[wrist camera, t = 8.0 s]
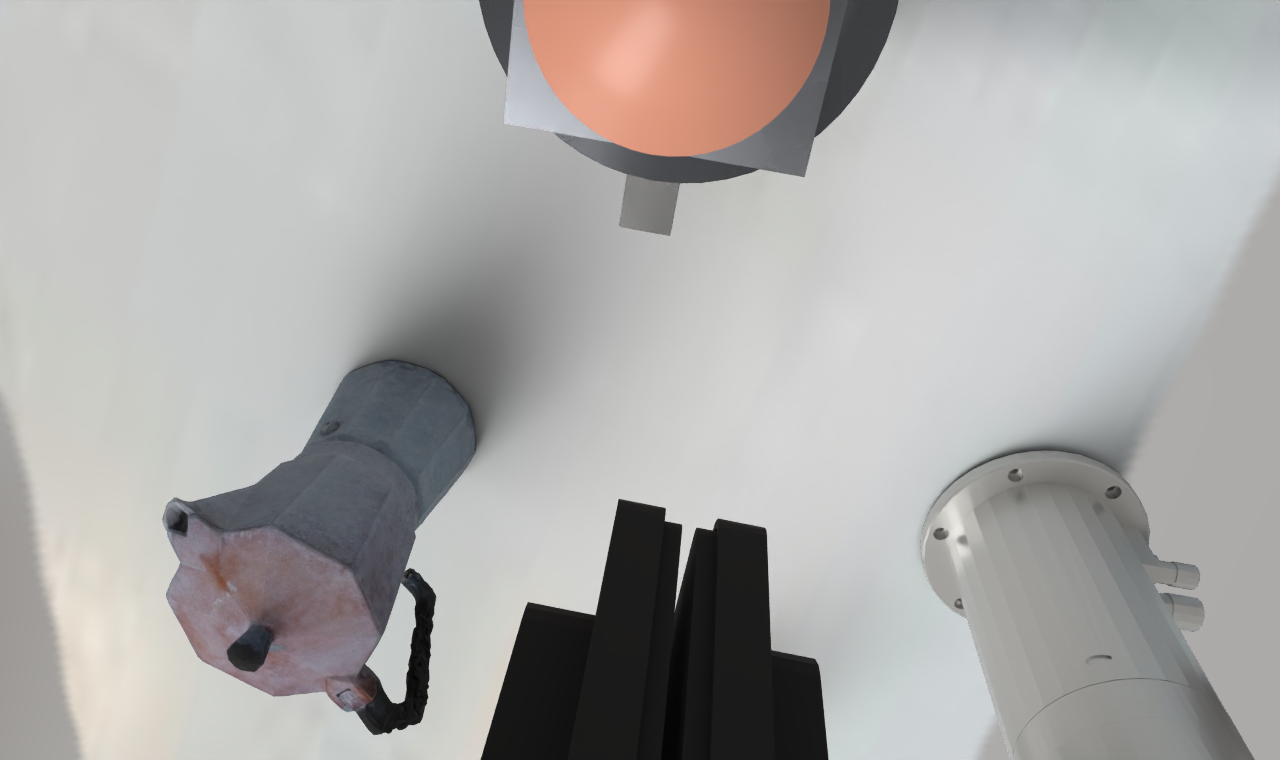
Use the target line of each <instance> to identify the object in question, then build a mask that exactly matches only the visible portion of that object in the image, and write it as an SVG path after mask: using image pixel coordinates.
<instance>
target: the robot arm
mask: <svg viewBox="0 0 1280 760" xmlns="http://www.w3.org/2000/svg"><path fill="white" fill-rule="evenodd" d="M665 512H666V509H665V508H662V507H657V506H652V505H647V504H642V503H637V502H632V501H627V500H622V499H619V501H618V506H617V511H616V516H615V521H614V526H613V531H612V536H611V541H610V546H609V551H608V556H607V561H606V566H605V571H604V576H603V581H602V586H601V591H600V596H599V601H598V606H597V611H596V616H595V615H590V614H585V613H580V612H575V611H570V610H565V609H560V608H555V607H550V606H545V605H540V604H535V603H530V602H528V603H527V605H526V608H525V611H524V614H523V617H522V621H521V624H520V627H519V631H518V634H517V638H516V641H515V644H514V648H513V651H512V655H511V658H510V662H509V665H508V668H507V672H506V675H505V679H504V682H503V686H502V689H501V692H500V696H499V699H498V703H497V706H496V709H495V713H494V716H493V720H492V723H491V727H490V730H489V733H488V737H487V740H486V744H485V747H484V750H483V754H482V757H481V760H828V750H827V740H826V729H825V719H824V708H823V698H822V688H821V677H820V671H819V666H818V663H817V662H816V660H815V659H813V658H808V657H803V656H797V655H792V654H787V653H782V652H777V651H772V650H771V636H770V609H769V581H768V553H767V533H766V529H765V528H763V527H758V526H753V525H748V524H743V523H738V522H733V521H728V520H723V519H717V520H716V523H715V525H714V529H713V531H711V530H706V529H701V528H696V530H695V533H694V537H693V541H692V545H691V549H690V553H689V557H688V561H687V565H686V569H685V573H684V577H683V581H682V585H681V589H680V593H679V597H678V601H677V605H676V609H675V600H676V589H677V578H678V567H679V556H680V545H681V534H682V525H681V524H676V523H671V522H666V521H665ZM1149 534H1150V530H1149V525H1148V520H1147V514H1146V512H1145V510H1144V508H1143V506H1142V504H1141V501H1140V499H1139V498H1138V496H1137V495H1136V494H1135V492H1134V490H1133V489H1132V488H1131V486H1130V485H1129V483H1127V482H1126V481H1125V480H1124V479H1123V478H1122V477H1121V476H1120V475H1119V474H1118V473H1117V472H1116V471H1114V470H1113V469H1111V468H1109V467H1108V466H1106V465H1104V464H1103V463H1101V462H1099V461H1096V460H1094V459H1091V458H1088V457H1085V456H1083V455H1079V454H1074V453H1068V452H1063V451H1030V452H1023V453H1016V454H1012V455H1008V456H1005V457H1002V458H998V459H995V460H992V461H990V462H988V463H985V464H983V465H981V466H979V467H977V468H975V469H973V470H971V471H970V472H968V473H967V474H965V475H964V476H962V477H961V478H959V479H958V480H956V481H955V482H954V483H953V484H952V485H951V486H950V487H949V488H948V489H947V490H946V491H945V492H944V493H943V494H942V495H941V496H940V497H939V499H938V500H937V501H936V503H935V504H934V506H933V507H932V508H931V510H930V512H929V514H928V516H927V519H926V521H925V523H924V525H923V530H922V535H921V540H920V548H921V560H922V563H923V567H924V571H925V575H926V577H927V579H928V582H929V584H930V586H931V588H932V590H933V591H934V592H935V594H936V595H937V596H938V597H939V599H940V600H941V601H942V602H943V603H944V604H945V605H946V606H947V607H949V608H950V609H951V610H952V611H954V612H955V613H957V614H959V615H960V616H962V617H964V618H966V619H967V620H968V624H969V627H970V630H971V633H972V637H973V640H974V643H975V647H976V650H977V653H978V656H979V660H980V663H981V666H982V670H983V673H984V676H985V680H986V683H987V686H988V689H989V693H990V696H991V699H992V703H993V706H994V709H995V712H996V716H997V719H998V722H999V726H1000V729H1001V732H1002V735H1003V739H1004V742H1005V745H1006V749H1007V752H1008V755H1009V758H1010V760H1255V759H1254V757H1253V756H1252V754H1251V752H1250V751H1249V749H1248V747H1247V746H1246V744H1245V742H1244V741H1243V739H1242V737H1241V735H1240V733H1239V732H1238V730H1237V728H1236V726H1235V725H1234V723H1233V721H1232V719H1231V718H1230V716H1229V715H1228V713H1227V712H1226V710H1225V709H1224V706H1223V705H1222V703H1221V701H1220V699H1219V698H1218V696H1217V694H1216V692H1215V691H1214V689H1213V687H1212V685H1211V684H1210V682H1209V681H1208V678H1207V677H1206V675H1205V673H1204V671H1203V670H1202V668H1201V666H1200V665H1199V663H1198V661H1197V659H1196V657H1195V656H1194V654H1193V652H1192V650H1191V649H1190V647H1189V645H1188V643H1187V642H1186V640H1185V638H1184V636H1183V635H1182V633H1181V631H1180V629H1181V630H1186V631H1191V632H1194V631H1198V630H1199V629H1200V627H1201V626H1202V624H1203V620H1204V608H1203V605H1202V602H1201V601H1199V599H1198V598H1193V597H1187V596H1182V595H1176V594H1170V593H1163V594H1161V593H1158V591H1157V589H1156V587H1155V586H1154V584H1155V583H1162V584H1167V585H1168V586H1172V587H1178V588H1183V589H1189V590H1192V589H1195V588H1196V587H1197V586H1198V584H1199V581H1200V573H1199V570H1198V568H1197V567H1196V566H1195V565H1188V564H1183V563H1178V562H1165V561H1160V560H1159V559H1158V557H1157V556H1156V555H1153V553H1152V551H1151V550H1150V548H1149ZM674 611H675V613H674Z"/></svg>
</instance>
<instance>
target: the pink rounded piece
mask: <svg viewBox="0 0 1280 760" xmlns="http://www.w3.org/2000/svg"><path fill="white" fill-rule="evenodd" d="M523 6H524V17H525V23H526V28H527V33H528V37H529V41H530V44H531V47H532V50H533V53H534V56H535V59H536V61H537V63H538V65H539V67H540V69H541V71H542V73H543V75H544V77H545V79H546V81H547V82H548V84H549V85H550V87H551V88H552V90H553V91H554V93H555V95H556V96H557V97H558V98H559V99H560V101H561V102H562V103H563V104H564V105H565V107H566V108H567V109H568V110H569V111H570V112H571V113H572V114H573V115H574V116H575V117H577V118H578V119H579V120H580V121H581V122H582V123H583V124H585V125H586V126H587V127H589V128H590V129H592V130H593V131H594V132H596V133H597V134H599V135H600V136H602V137H604V138H606V139H608V140H610V141H612V142H613V143H615V144H618V145H621V146H623V147H626V148H628V149H631V150H634V151H638V152H642V153H646V154H651V155H660V156H669V157H671V156H692V155H699V154H706V153H710V152H713V151H717V150H720V149H724V148H726V147H729V146H731V145H733V144H736V143H738V142H740V141H742V140H744V139H746V138H748V137H749V136H751V135H753V134H754V133H756V132H758V131H759V130H761V129H762V128H763V127H764V126H766V125H767V124H768V123H770V122H771V121H772V120H773V119H775V118H776V117H777V116H778V115H779V114H780V113H781V112H782V111H783V110H784V109H785V108H786V107H787V106H788V105H789V103H790V102H791V101H792V100H793V98H794V97H795V96H796V94H797V93H798V92H799V91H800V89H801V88H802V86H803V84H804V83H805V81H806V79H807V78H808V76H809V74H810V73H811V71H812V69H813V66H814V64H815V62H816V60H817V57H818V55H819V53H820V50H821V47H822V43H823V40H824V37H825V34H826V29H827V23H828V18H829V12H830V0H523Z"/></svg>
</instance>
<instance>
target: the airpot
mask: <svg viewBox="0 0 1280 760" xmlns="http://www.w3.org/2000/svg"><path fill="white" fill-rule="evenodd" d="M479 2H480V6H481V11H482V15H483V19H484V23H485V27H486V30H487V32H488V35H489V38H490V41H491V43H492V46H493V49H494V51H495V54H496V56H497V58H498V60H499V62H500V64H501V65H502V67H503V69H504V71H505V73H506V75H507V89H506V100H505V112H504V124H510V125H515V126H521V127H527V128H532V129H538V130H543V131H549V132H553V133H555V134H556V135H557V136H558V137H559V138H560V139H562V140H563V141H564V142H566V143H567V144H569V145H570V146H571V147H573V148H574V149H576V150H577V151H578V152H580V153H581V154H583V155H585V156H587V157H589V158H591V159H593V160H595V161H596V162H598V163H600V164H602V165H604V166H607V167H609V168H612V169H614V170H617V171H620V172H622V173H625V174H627V178H626V185H625V192H624V198H623V205H622V211H621V218H620V224H619V226H621V227H623V228H629V229H634V230H640V231H646V232H651V233H657V234H662V235H668V236H670V234H671V229H672V223H673V218H674V212H675V207H676V201H677V196H678V190H679V185H680V183H704V182H711V181H718V180H725V179H730V178H733V177H737V176H740V175H744V174H748V173H751V172H754V171H756V170H759V169H762V170H768V171H773V172H779V173H784V174H790V175H796V176H801V177H805V173H806V169H807V165H808V160H809V156H810V152H811V148H812V144H813V140H814V138H815V137H816V136H817V135H819V134H820V133H821V132H822V131H823V130H824V129H825V128H826V127H827V126H828V125H829V124H830V123H832V122H833V121H834V120H835V119H836V118H837V117H838V116H839V115H840V114H841V113H842V111H843V110H844V109H845V108H846V107H847V105H848V104H849V103H850V102H851V100H852V99H853V98H854V97H855V96H856V94H857V93H858V92H859V90H860V89H861V87H862V85H863V84H864V82H865V81H866V79H867V78H868V76H869V74H870V73H871V71H872V70H873V68H874V66H875V64H876V62H877V60H878V58H879V56H880V54H881V51H882V49H883V47H884V45H885V43H886V41H887V38H888V35H889V32H890V29H891V26H892V23H893V20H894V17H895V14H896V10H897V5H898V0H830V12H829V18H828V23H827V29H826V34H825V37H824V40H823V43H822V47H821V50H820V53H819V55H818V57H817V60H816V62H815V64H814V66H813V69H812V71H811V73H810V74H809V76H808V78H807V79H806V81H805V83H804V84H803V86H802V88H801V89H800V91H799V92H798V93H797V94H796V96H795V97H794V98H793V100H792V101H791V102H790V103H789V105H788V106H787V107H786V108H785V109H784V110H783V111H782V112H781V113H780V114H779V115H778V116H777V117H776V118H775V119H773V120H772V121H771V122H770V123H768V124H767V125H766V126H764V127H763V128H762V129H761V130H759V131H758V132H756V133H754V134H753V135H751V136H749V137H748V138H746V139H744V140H742V141H740V142H738V143H736V144H733V145H731V146H729V147H726V148H724V149H720V150H717V151H713V152H710V153H706V154H699V155H692V156H671V157H669V156H660V155H651V154H646V153H642V152H638V151H634V150H631V149H628V148H626V147H623V146H621V145H618V144H615V143H613V142H612V141H610V140H608V139H606V138H604V137H602V136H600V135H599V134H597V133H596V132H594V131H593V130H592V129H590V128H589V127H587V126H586V125H585V124H583V123H582V122H581V121H580V120H579V119H578V118H577V117H575V116H574V115H573V114H572V113H571V112H570V111H569V110H568V109H567V108H566V107H565V105H564V104H563V103H562V102H561V101H560V99H559V98H558V97H557V96H556V95H555V93H554V91H553V90H552V88H551V87H550V85H549V84H548V82H547V81H546V79H545V77H544V75H543V73H542V71H541V69H540V67H539V65H538V63H537V61H536V59H535V56H534V53H533V50H532V47H531V44H530V41H529V37H528V33H527V28H526V23H525V17H524V6H523V0H479Z"/></svg>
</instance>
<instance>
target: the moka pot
mask: <svg viewBox="0 0 1280 760" xmlns="http://www.w3.org/2000/svg"><path fill="white" fill-rule="evenodd" d="M475 451H476V439H475V431H474V424H473V419H472V416H471V411H470V409H469V407H468V405H467V404H466V402H465V401H464V400H463V398H462V397H461V396H460V395H459V394H458V393H457V392H456V391H455V390H454V389H453V388H452V387H451V386H450V385H449V384H448V383H447V381H446V380H445V379H444V378H442V377H440V376H438V375H437V374H435V373H433V372H431V371H430V370H428V369H426V368H423V367H419V366H416V365H413V364H411V363H405V362H403V361H395V360H387V361H382V362H376V363H373V364H370V365H367V366H364V367H362V368H360V369H358V370H355V371H353V372H350V373H349V374H348V375H346V376H345V377H344V379H343V380H342V382H341V384H340V386H339V387H338V389H337V391H336V393H335V394H334V396H333V398H332V400H331V402H330V403H329V405H328V407H327V409H326V410H325V412H324V414H323V415H322V417H321V419H320V421H319V422H318V424H317V426H316V428H315V430H314V431H313V433H312V435H311V437H310V439H309V440H308V442H307V444H306V446H305V447H304V449H303V451H302V453H301V454H299V455H298V456H297V457H296V458H295V459H294V460H291V461H287V462H284V463H281V464H280V465H279V466H277V467H276V468H275V469H274V470H272V471H271V472H270V473H269V474H268V475H266V476H265V477H264V478H262V479H261V480H260V481H259V482H258V483H256V484H255V485H252V486H249V487H246V488H243V489H238V490H234V491H231V492H227V493H223V494H219V495H216V496H212V497H209V498H205V499H200V500H196V501H193V502H187V501H182V500H180V499H178V498H174V499H173V500H171V501H170V502H169V503H168V504H167V506H166V509H165V513H164V516H163V519H162V520H163V524H164V527H165V528H166V530H167V535H168V538H169V541H170V543H171V545H172V547H173V549H174V551H175V553H176V555H177V557H178V559H179V561H180V565H179V568H178V570H177V572H176V574H175V575H174V577H173V579H172V581H171V583H170V586H169V588H168V591H167V593H166V597H167V600H168V602H169V605H170V607H171V608H172V610H173V612H174V614H175V616H176V617H177V619H178V621H179V623H180V624H181V626H182V628H183V630H184V631H185V633H186V635H187V637H188V639H189V641H190V643H191V645H192V647H193V649H194V650H195V652H196V654H197V656H198V657H199V658H200V659H201V660H202V661H203V662H205V663H207V664H209V665H211V666H213V667H215V668H217V669H219V670H221V671H223V672H225V673H227V674H229V675H231V676H233V677H235V678H237V679H239V680H241V681H243V682H245V683H247V684H249V685H251V686H253V687H255V688H257V689H259V690H261V691H264V692H266V693H268V694H270V695H272V696H289V695H295V694H307V693H312V692H327V694H328V696H329V697H330V699H331V700H332V701H333V702H334V703H336V704H337V705H338V706H339V707H340V708H341V709H342V710H344V711H346V712H350V711H356V713H357V714H358V716H359V717H360V719H361V720H362V721H363V723H364V724H365V726H366V727H367V729H368V730H369V731H370V732H371V733H372V734H373V735H378V734H382V733H388V734H389V733H391V732H392V730H393V729H395V728H397V729H398V730H403V729H405V728H406V727H407V726H408V725H415V724H418V723H420V722H421V720H422V718H423V713H424V709H425V706H426V704H427V699H428V694H427V689H428V687H429V685H428V682H429V669H428V668H429V659H430V656H431V654H430V648H431V641H430V634H431V632H432V629H433V621H432V618H433V615H434V606H435V601H436V595H435V593H434V591H433V589H432V588H431V587H430V586H429V585H428V583H426V582H425V581H424V580H423V578H422V577H421V575H420V574H419V573H417V572H415V570H414V569H411V568H409V569H408V570H406V571H405V568H406V565H407V562H408V559H409V556H410V553H411V550H412V547H413V544H414V541H415V538H416V536H415V532H414V531H415V530H416V529H417V528H418V527H419V526H420V525H421V524H422V523H423V521H424V520H425V518H426V517H427V516H428V515H429V513H430V512H431V511H432V510H433V509H434V507H435V506H436V505H437V504H438V503H439V501H440V500H441V499H442V498H443V497H444V496H445V495H446V493H447V492H448V491H449V489H450V488H451V487H452V486H453V484H454V483H455V482H456V481H457V479H458V478H459V477H460V475H461V474H462V473H463V471H464V470H465V468H466V467H467V466H468V464H469V462H470V461H471V459H472V457H473V455H474V453H475ZM404 571H405V572H404ZM400 583H402V584H403V585H404V586H405V587H406V588H407V589H408V590H409V591H410V592H411V593H412V595H413V596H414V598H415V601H416V606H415V618H416V627H415V628H414V630H413V635H412V643H411V645H410V646H411V656H410V659H409V664H408V666H409V670H408V672H407V677H406V685H407V691H406V697H405V701H404V702H402V703H399V704H396V703H392V702H391V701H390V700H389V698H388V697H387V695H386V693H385V692H384V690H383V688H382V685H381V682H380V680H379V678H378V677H377V676H376V675H375V673H374V672H373V671H372V670H371V669H370V668H369V667H367V666H366V664H365V663H366V662H367V660H368V659H369V657H370V656H371V654H372V652H373V651H374V649H375V648H376V646H377V644H378V643H379V641H380V639H381V637H382V635H383V633H384V631H385V628H386V625H387V623H388V620H389V617H390V614H391V611H392V608H393V605H394V602H395V599H396V596H397V593H398V590H399V586H400Z"/></svg>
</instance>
